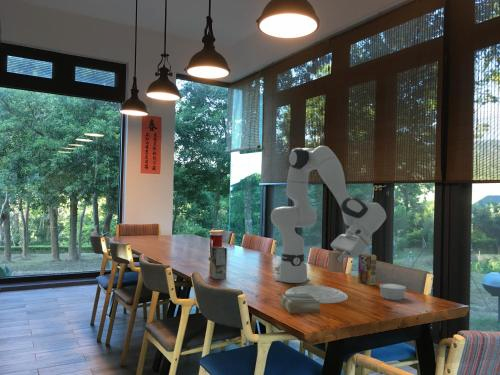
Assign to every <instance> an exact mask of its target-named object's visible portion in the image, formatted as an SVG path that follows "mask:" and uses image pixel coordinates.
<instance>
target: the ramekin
mask: <svg viewBox="0 0 500 375" xmlns="http://www.w3.org/2000/svg"><path fill="white" fill-rule="evenodd" d="M379 288H380V289H379V290H380V296H381V297H382V298H383V299H386V300H391V301H402V300H404V298H405V294H406V291H407V287H406V286H405V285H402V284H396V283H380V284H379Z"/></svg>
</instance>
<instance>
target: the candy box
mask: <svg viewBox="0 0 500 375" xmlns="http://www.w3.org/2000/svg"><path fill="white" fill-rule="evenodd" d="M357 268H358V270H357V282H358V283H361V284H364V285H368V286H376V282H377V281H376V280H377V276H376V275H377V255H376V254H370V253H365V252H362V253H361V254H360V255H359V256H358V267H357Z"/></svg>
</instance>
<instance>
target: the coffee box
mask: <svg viewBox="0 0 500 375" xmlns="http://www.w3.org/2000/svg"><path fill="white" fill-rule="evenodd" d="M209 251H210V254H209V255H210V257H209V277H210V278H212V279H214V280H221V279H222V280H223V279H225V280H226V279H227V261H228V260H227V259H228V258H227V257H228V256H227V255H228V248H226V247H224V246H219V245H218V246H216V245H215V246H210V250H209Z"/></svg>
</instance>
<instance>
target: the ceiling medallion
mask: <svg viewBox="0 0 500 375" xmlns="http://www.w3.org/2000/svg"><path fill="white" fill-rule="evenodd" d="M284 294H310V295H311V296H313V297H314V298H316V299H317V300H319V301H320V304H335V303H337V304H338V303H342V302H345V301H347V300H348V299H349V296H348V294H346V293H345V292H344V291H342V290H340V289H337V288H334V287H330V286H327V285H308V284H306V285H300V286H299V285H298V286H293V287H291V288H289V289H286V290H285V293H284Z"/></svg>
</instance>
